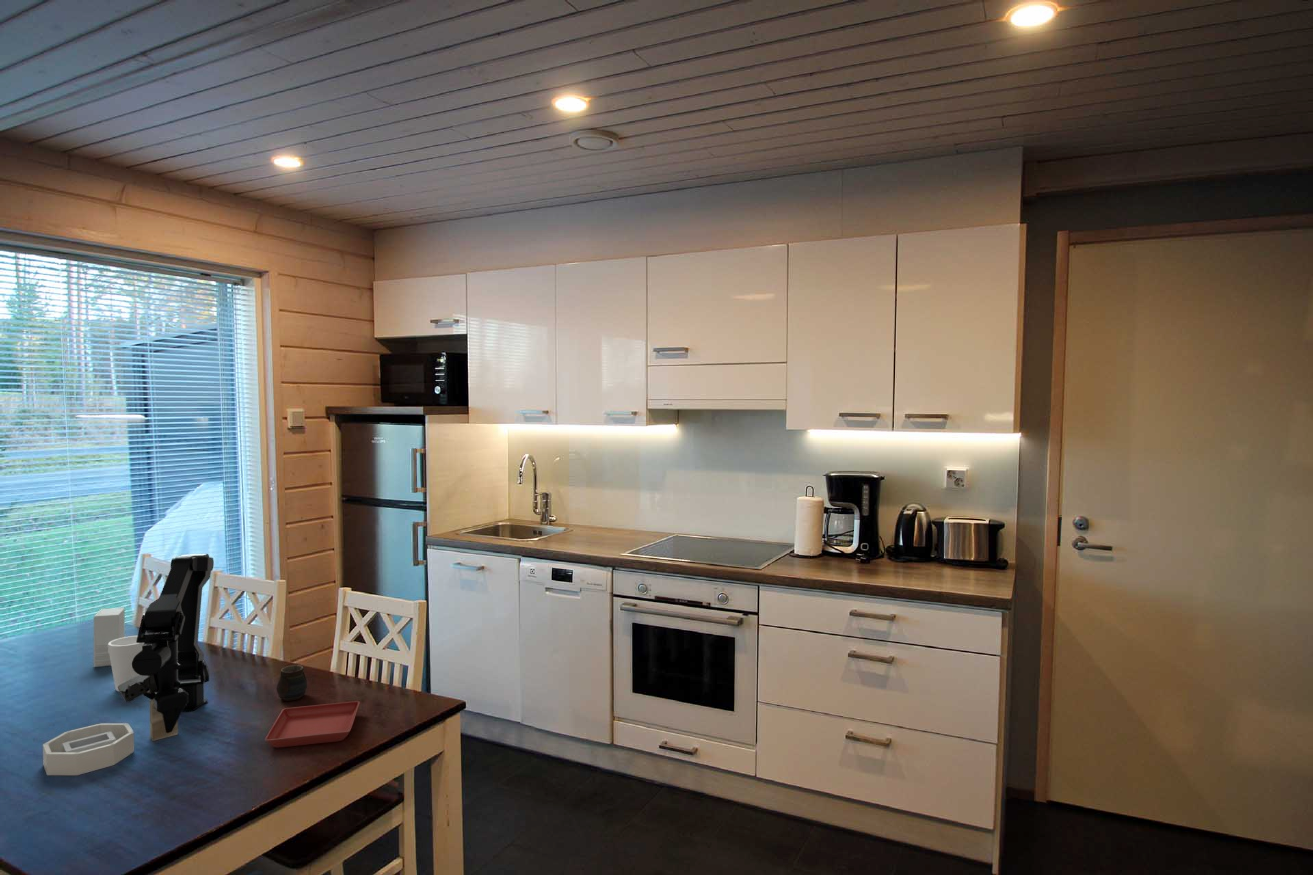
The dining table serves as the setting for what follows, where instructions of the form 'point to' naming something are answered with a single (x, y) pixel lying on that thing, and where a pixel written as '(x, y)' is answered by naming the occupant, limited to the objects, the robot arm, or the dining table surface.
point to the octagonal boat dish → (88, 749)
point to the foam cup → (123, 658)
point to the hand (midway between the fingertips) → (164, 726)
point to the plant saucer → (312, 724)
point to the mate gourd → (292, 683)
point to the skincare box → (107, 633)
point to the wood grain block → (159, 725)
